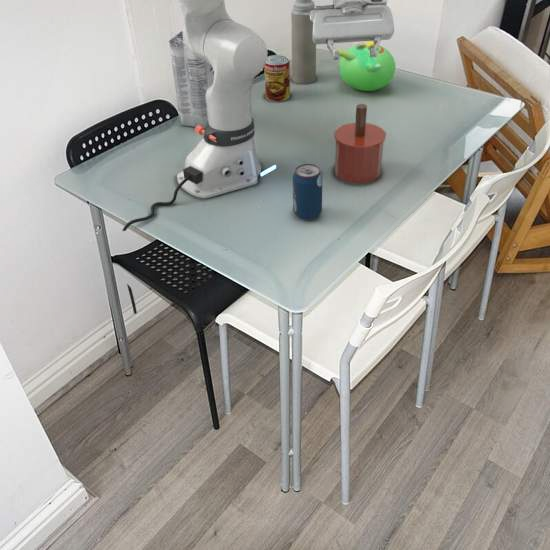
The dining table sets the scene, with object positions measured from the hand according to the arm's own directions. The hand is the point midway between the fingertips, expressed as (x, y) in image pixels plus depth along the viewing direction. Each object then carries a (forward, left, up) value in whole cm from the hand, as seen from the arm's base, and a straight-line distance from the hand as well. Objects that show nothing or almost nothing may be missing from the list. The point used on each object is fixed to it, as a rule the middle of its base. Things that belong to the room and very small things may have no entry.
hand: (354, 57), depth 155 cm
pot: (-6, -10, -26) cm, 29 cm away
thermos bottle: (+22, +46, -26) cm, 58 cm away
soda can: (-28, -16, -26) cm, 42 cm away
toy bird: (+32, +27, -26) cm, 50 cm away
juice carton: (-22, +42, -26) cm, 55 cm away
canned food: (+7, +41, -26) cm, 49 cm away
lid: (-6, -10, -16) cm, 19 cm away
